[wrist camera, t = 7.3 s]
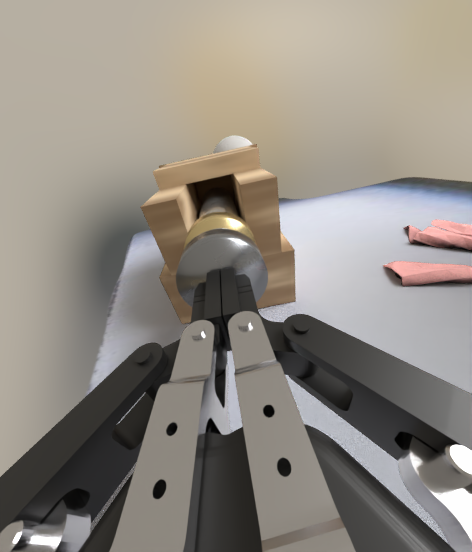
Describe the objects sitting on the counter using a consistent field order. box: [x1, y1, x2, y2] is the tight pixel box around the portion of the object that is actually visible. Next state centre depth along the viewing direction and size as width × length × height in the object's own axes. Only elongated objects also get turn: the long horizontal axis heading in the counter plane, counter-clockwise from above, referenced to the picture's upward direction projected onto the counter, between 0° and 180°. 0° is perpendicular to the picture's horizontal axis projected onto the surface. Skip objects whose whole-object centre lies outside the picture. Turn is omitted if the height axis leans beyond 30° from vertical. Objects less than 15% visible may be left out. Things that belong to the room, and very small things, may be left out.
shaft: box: [176, 187, 268, 307], centre depth 19 cm, size 17×5×5 cm, turn 6°
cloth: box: [383, 220, 472, 286], centre depth 21 cm, size 20×22×2 cm
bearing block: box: [141, 144, 295, 324], centre depth 23 cm, size 14×12×14 cm
